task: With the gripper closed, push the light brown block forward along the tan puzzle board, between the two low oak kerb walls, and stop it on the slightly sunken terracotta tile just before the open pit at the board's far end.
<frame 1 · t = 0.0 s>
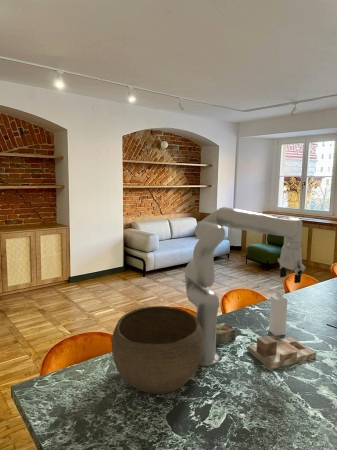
hand: (289, 279, 160), 31 cm above the table, fingers open, 9 cm apart
juice carton: (215, 340, 165), on the table
light brown block: (266, 352, 148), point 2 cm above the table, touching tan puzzle board
tan puzzle board: (281, 354, 152), on the table
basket: (157, 380, 131), on the table
milk: (276, 333, 173), on the table
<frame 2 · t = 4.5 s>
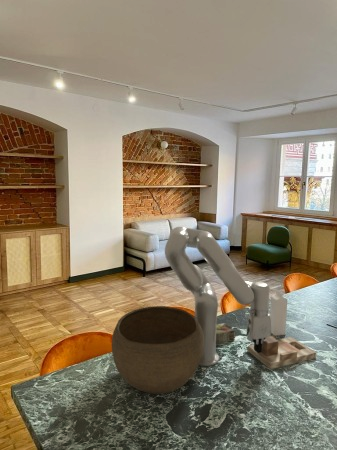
hand: (257, 351, 146), 4 cm above the table, fingers closed
light brown block: (267, 352, 149), point 3 cm above the table, touching tan puzzle board, gripper
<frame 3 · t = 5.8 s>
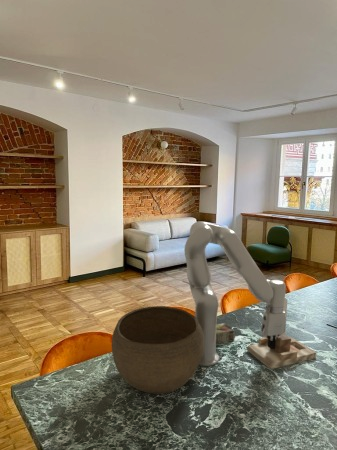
hand: (271, 347, 149), 4 cm above the table, fingers closed
light brown block: (279, 349, 151), point 3 cm above the table, touching tan puzzle board, gripper
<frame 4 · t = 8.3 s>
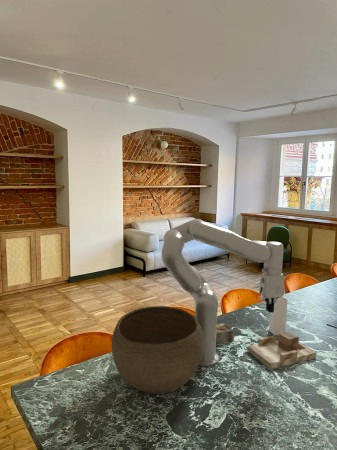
hand: (269, 311, 146), 22 cm above the table, fingers closed
light brown block: (287, 347, 153), point 2 cm above the table, touching tan puzzle board
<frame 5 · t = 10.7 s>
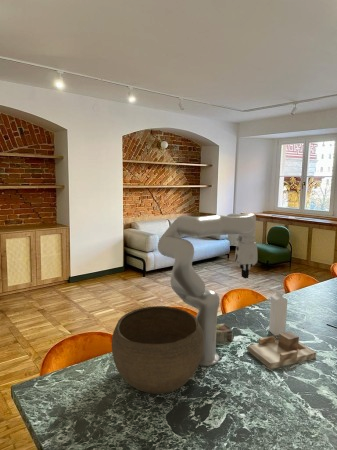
hand: (244, 277, 160), 32 cm above the table, fingers closed
at the end: light brown block inside the target area on the tan puzzle board (0.6 cm from its centre), point 2.5 cm above the tan puzzle board's base; light brown block tilted 1° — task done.
